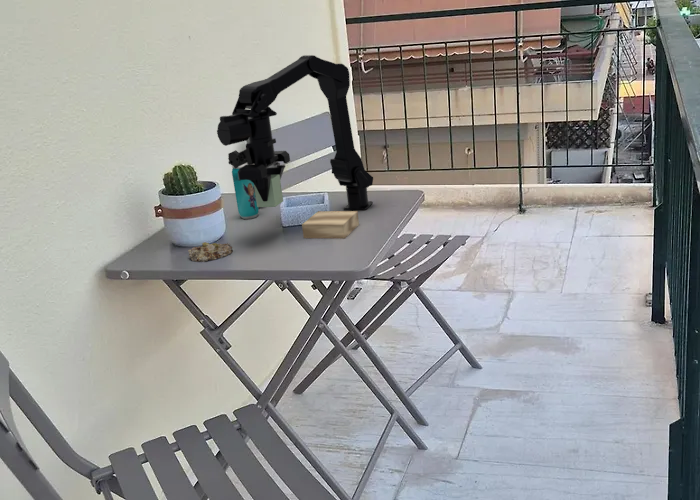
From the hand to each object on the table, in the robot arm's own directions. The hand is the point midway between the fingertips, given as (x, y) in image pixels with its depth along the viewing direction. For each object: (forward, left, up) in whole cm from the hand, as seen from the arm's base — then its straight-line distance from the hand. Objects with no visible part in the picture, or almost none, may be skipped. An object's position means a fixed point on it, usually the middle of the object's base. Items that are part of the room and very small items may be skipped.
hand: (269, 198), depth 190 cm
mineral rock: (+14, -11, -11) cm, 21 cm away
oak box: (-4, +14, -11) cm, 18 cm away
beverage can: (-17, -15, -10) cm, 25 cm away
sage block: (0, 0, -2) cm, 2 cm away
